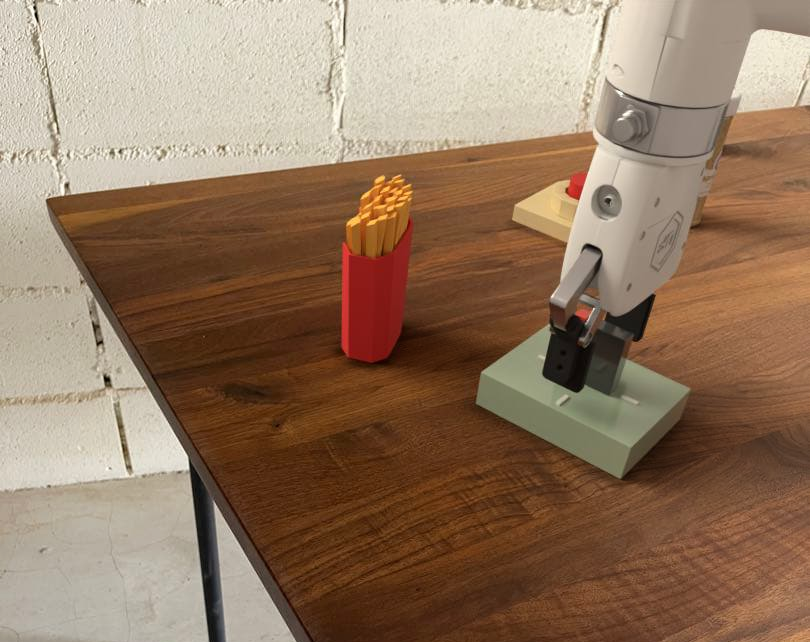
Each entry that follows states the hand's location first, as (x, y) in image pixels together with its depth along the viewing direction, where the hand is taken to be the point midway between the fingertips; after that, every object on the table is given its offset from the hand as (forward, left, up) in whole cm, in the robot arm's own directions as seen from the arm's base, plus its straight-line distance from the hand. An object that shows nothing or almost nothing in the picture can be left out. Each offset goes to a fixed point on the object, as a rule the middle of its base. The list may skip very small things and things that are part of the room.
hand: (593, 357), depth 66 cm
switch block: (+17, -29, -5) cm, 34 cm away
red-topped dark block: (0, 0, -2) cm, 2 cm away
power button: (+17, -29, -2) cm, 34 cm away
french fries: (+18, +4, -5) cm, 19 cm away
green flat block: (0, 0, -5) cm, 5 cm away
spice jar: (+10, -39, -5) cm, 41 cm away
